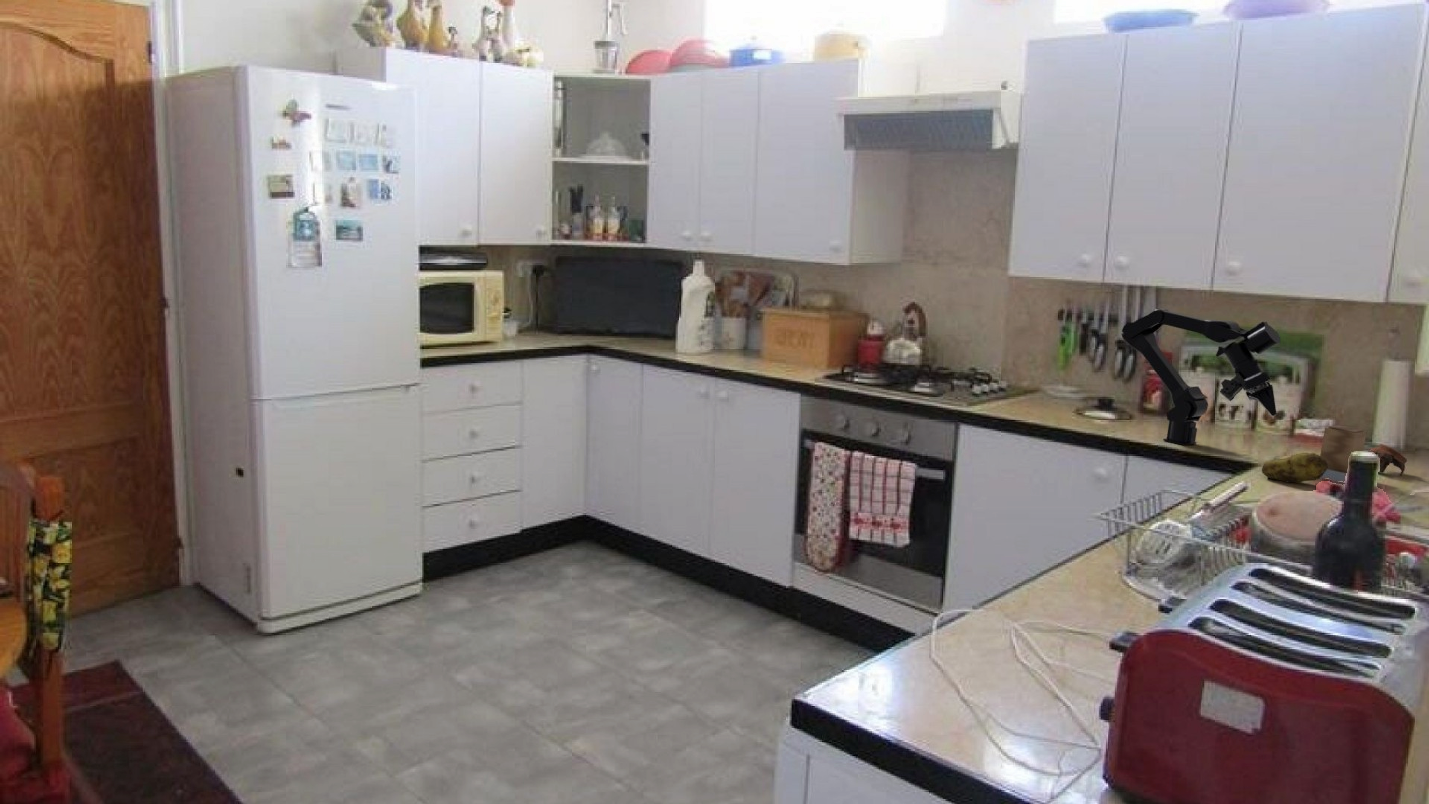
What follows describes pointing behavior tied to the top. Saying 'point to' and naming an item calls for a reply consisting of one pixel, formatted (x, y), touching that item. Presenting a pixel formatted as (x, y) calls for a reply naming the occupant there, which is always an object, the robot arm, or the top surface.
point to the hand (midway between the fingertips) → (1274, 415)
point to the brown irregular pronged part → (1389, 457)
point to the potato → (1296, 468)
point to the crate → (1341, 446)
